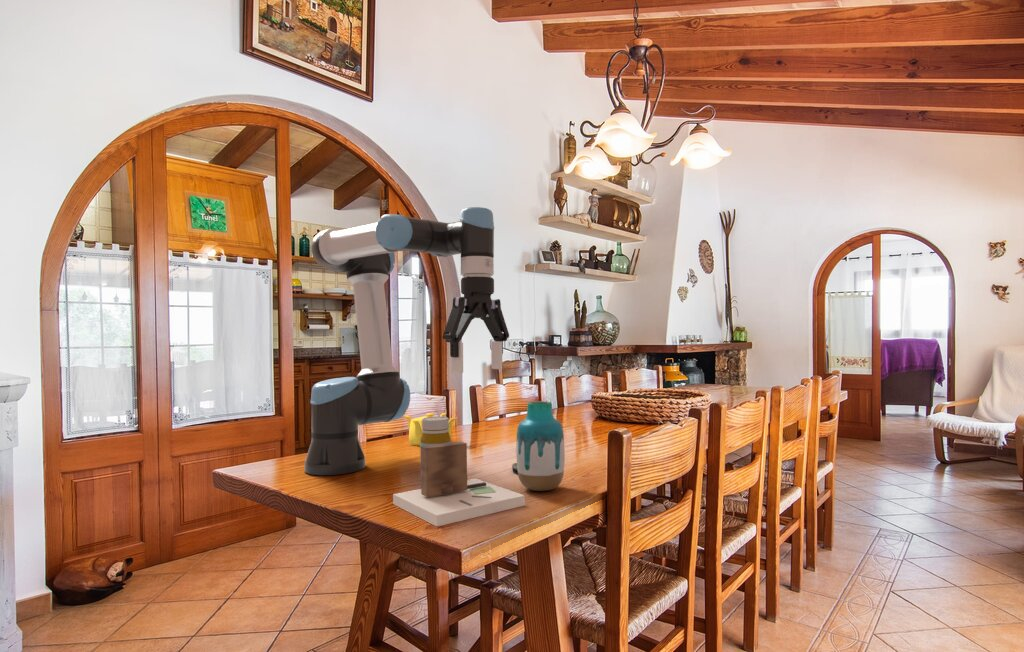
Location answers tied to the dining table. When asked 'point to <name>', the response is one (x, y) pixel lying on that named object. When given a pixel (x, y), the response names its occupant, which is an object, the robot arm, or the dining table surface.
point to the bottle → (435, 431)
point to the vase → (540, 448)
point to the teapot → (416, 428)
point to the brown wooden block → (444, 469)
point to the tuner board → (459, 503)
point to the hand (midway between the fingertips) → (478, 370)
